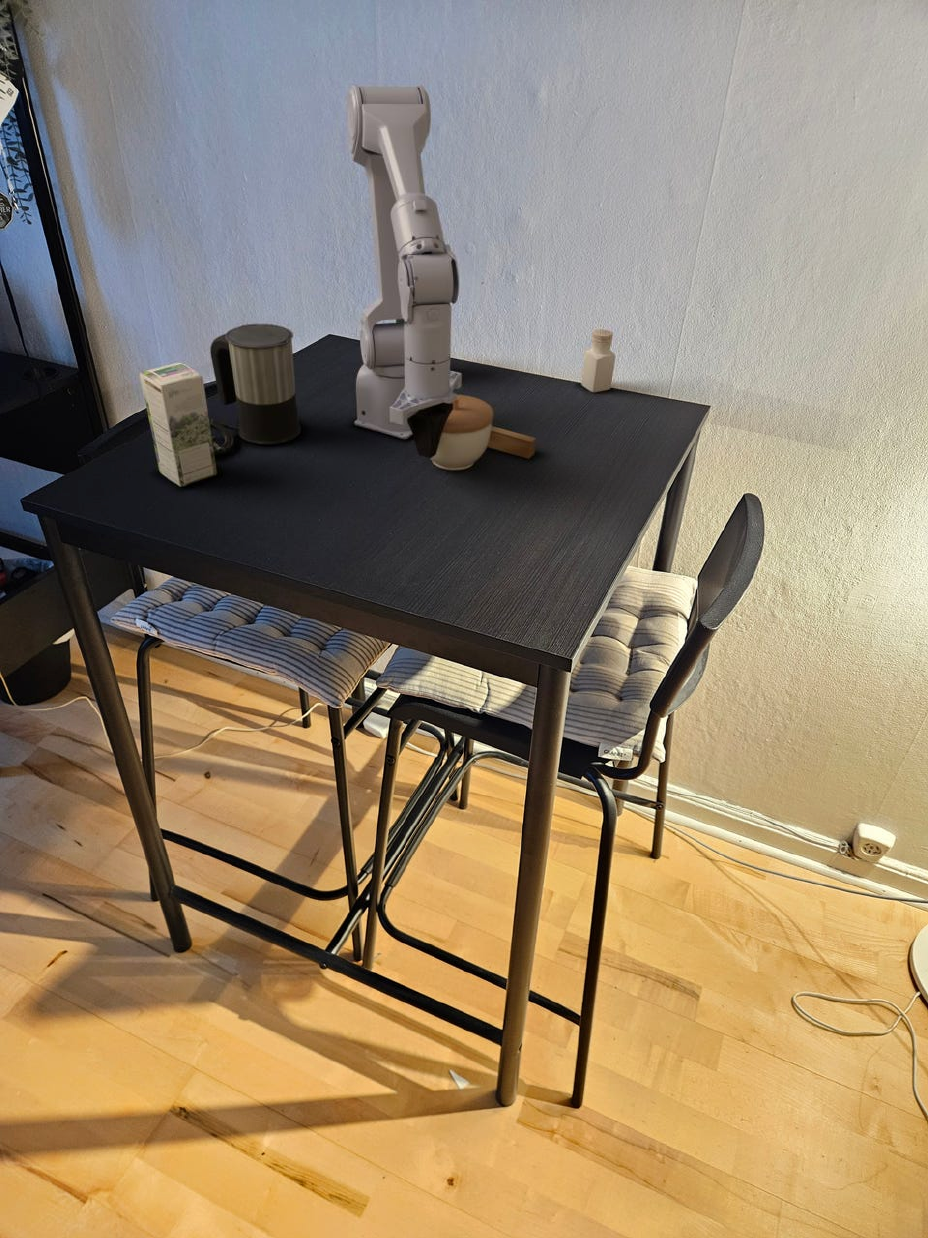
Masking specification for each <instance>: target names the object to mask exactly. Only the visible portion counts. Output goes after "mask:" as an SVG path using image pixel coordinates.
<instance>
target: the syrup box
mask: <svg viewBox="0 0 928 1238" xmlns="http://www.w3.org/2000/svg"><path fill="white" fill-rule="evenodd" d="M139 378H140V383H141V387H142V393H143V397H144V402H145V407H146V412H147V417H148V422H149V427H150V432H151V436H152V440H153V441H152V442H153V447H154V452H155V456H156V462H157V467H158V471H159V473H160V474H161V475H163V476H164V477H166V478H167V479H168V480H169V481H171V482H172V483H174V484H175V485H177V486H179V487H180V488H182V487H185V486H189V485H191V484H194V483H197V482H200V481H202V480H205V479H208V478H212V477H213V476H216V475H217V474H218V471H217V465H216V458H215V455H214V451H213V444H212V437H213V436H212V432H211V431H212V430H211V428H210V424H209V419H210V418H209V412H208V411H209V410H208V405H207V404H208V403H207V399H206V398H207V397H206V391H205V384H204V379H203V376H202V375H201V374H200V373H199V372H197V371H196V370H194V369H193V368H192V367H190V366H188V365H187V364H185V363H183V362H180V361H178V362H175V363H171V364H167V365H163V366H159V367H155V368H151V369H148V370H144V371H141V372H139Z"/></svg>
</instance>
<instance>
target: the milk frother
mask: <svg viewBox="0 0 928 1238" xmlns="http://www.w3.org/2000/svg"><path fill="white" fill-rule="evenodd" d="M293 337H294V333H293V331H292V330H290V329H289V328H288V327H285V326H282V325H278V324H273V323H249V324H247V323H246V324H242V325H239V326H236V327H233V328H231V329H229V330H228V331H227V332H226V333H223V334H221V335H219V336H217V337H216V338H214V339H213V340H212V342H211V344H210V350H209V352H210V359H211V364H212V368H213V373H214V378H215V383H216V384H215V385H216V389H217V392H218V394H217V395H218V398H219V401H220V403H221V404H223V406H228V405H232V404H234V403H236V408H237V425H238V426H231V425H229V424H226V423H223V422H221V421H220V420H216V419H213V418H209V424H210V429H213V430H214V431H217V432H218V433H220V434H221V435H222V437H223V438H224V443H223V444H221V445H219V444H218V443H216V441H217V436H215V435H213V436H211V437H212V444H213V451H214V456H218V455H222V454H225V453H228V452H229V451H230V450H231V449H232V448H233V447H234V442H235V441H234V440H235V439H234V436H233V434H232V433H231V431H230V430H232V431H233V430H234V431H237V434H238V436H239V437H240V438H241V439H242V440H244V441H246V442H248V443H251V444H255V445H267V446H269V445H270V446H271V445H279V444H283V443H287V442H290V441H292V440H294V439H296V438H297V437H298V436H299V435H300V434H301V431H302V428H301V425H300V422H299V415H298V406H297V398H296V397H297V396H296V381H295V367H294V356H293V355H294V354H293V353H294V352H293V341H292V339H293Z"/></svg>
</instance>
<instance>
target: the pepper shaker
mask: <svg viewBox="0 0 928 1238" xmlns="http://www.w3.org/2000/svg"><path fill="white" fill-rule="evenodd" d="M613 335H614V333H613V332H612V331H611V330H608V329H602V328H601V329H595V330H593V332H592V338H591V348H589V349H587V350H586V351H584V355H583V356H584V357H583V364H582V373H581V379H580V380H581V381H580V384H581V386H582V387H584V388H585V389H586V390H588V391H589V392H591V393H599V392H604V391H609V390H610V389H611V388H612V381H613V376H614V368H615V362H616V355H615V353H614V352H613V351H612V350H611V346H612V341H613Z"/></svg>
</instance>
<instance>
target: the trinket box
mask: <svg viewBox="0 0 928 1238" xmlns="http://www.w3.org/2000/svg"><path fill="white" fill-rule="evenodd" d="M452 403H453V410H452V412H451V413H450V415H449V417H448V419H447V421H446V423H445V425H444V428H443V431H442V434H441V437H440V441H439V445H438V449H437V452H436V455H435V456H433V457H432V458H429V460H431V462H432V464H433V465H434V466H436V467H437V468H439V469H443V470H447V471H463V470H466V469H469V468H471V467H472V466H473V465H474V464H475V462H477V461H478V460H479V459H480V458H481V457H482V456H483V454H485V452H486V450H487V449H488V447H487V446H488V443H489V440H490V435H491V428H492V426H493V420H494V409H493V408H492V406H491V405H490V404H489V403H488V402H486V401H484V400H483V399H480V398H479V397H478V398H477V397H474V396H470V395H465V394H457V399H456V400H455V401H454V402H452Z"/></svg>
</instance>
